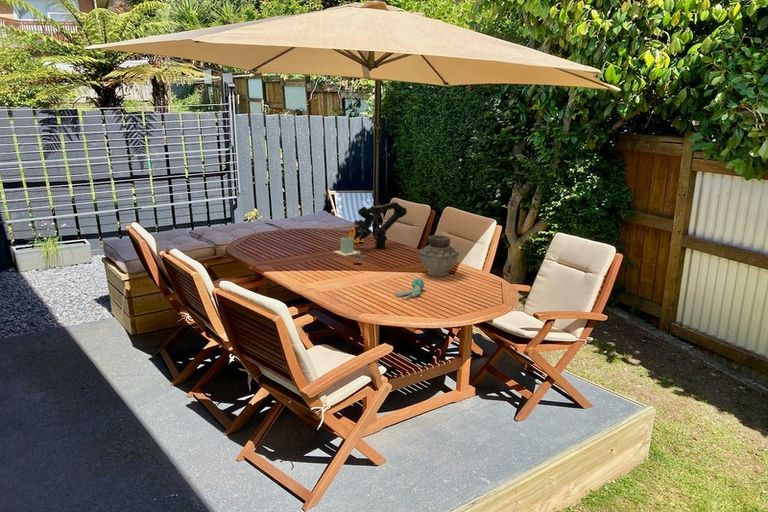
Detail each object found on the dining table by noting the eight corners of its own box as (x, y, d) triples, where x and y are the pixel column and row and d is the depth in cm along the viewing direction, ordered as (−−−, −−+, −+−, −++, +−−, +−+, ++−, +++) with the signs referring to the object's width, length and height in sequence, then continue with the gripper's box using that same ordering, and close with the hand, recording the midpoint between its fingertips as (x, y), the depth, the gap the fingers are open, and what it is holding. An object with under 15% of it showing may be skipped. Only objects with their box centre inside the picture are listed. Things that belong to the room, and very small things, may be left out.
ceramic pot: (435, 266, 390) (437, 231, 384) (465, 274, 373) (467, 237, 367) (410, 273, 373) (410, 236, 367) (440, 282, 356) (441, 243, 350)
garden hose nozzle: (400, 294, 321) (434, 287, 327) (389, 282, 337) (421, 275, 342) (401, 306, 324) (434, 298, 330) (390, 293, 339) (422, 287, 345)
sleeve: (347, 250, 422) (347, 236, 420) (353, 252, 418) (353, 238, 415) (340, 251, 418) (340, 238, 416) (345, 253, 414) (345, 239, 411)
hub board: (349, 250, 428) (349, 244, 427) (360, 254, 417) (360, 247, 416) (333, 253, 419) (333, 246, 418) (344, 257, 409) (344, 250, 408)
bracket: (364, 243, 451) (364, 228, 448) (356, 244, 447) (356, 229, 444) (355, 240, 460) (355, 225, 457) (348, 241, 455) (348, 226, 452)
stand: (355, 255, 414) (355, 248, 413) (368, 257, 410) (368, 250, 409) (348, 259, 405) (348, 252, 404) (361, 260, 401) (361, 253, 400)
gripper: (354, 215, 430) (343, 233, 427) (365, 216, 413) (353, 234, 410) (365, 223, 434) (354, 241, 432) (376, 224, 418) (365, 243, 415)
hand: (356, 240), depth 422 cm, fingers open, 9 cm apart
